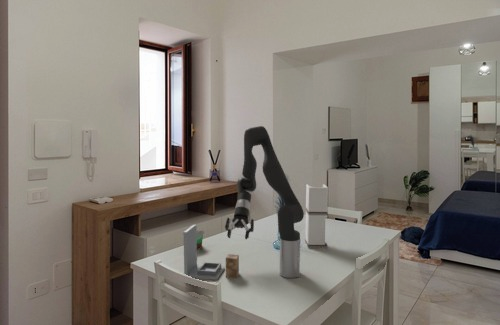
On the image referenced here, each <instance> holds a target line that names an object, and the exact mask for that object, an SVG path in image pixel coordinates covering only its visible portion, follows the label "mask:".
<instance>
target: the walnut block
mask: <svg viewBox="0 0 500 325" xmlns="http://www.w3.org/2000/svg"><path fill="white" fill-rule="evenodd" d="M239 259H240V255H239V254H234V253H233V254H230V253H229V254H227V255H226V257H225V278H233V279H235V278H238V276H239V274H240V272H239V270H240V268H239V267H240V260H239Z"/></svg>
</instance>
